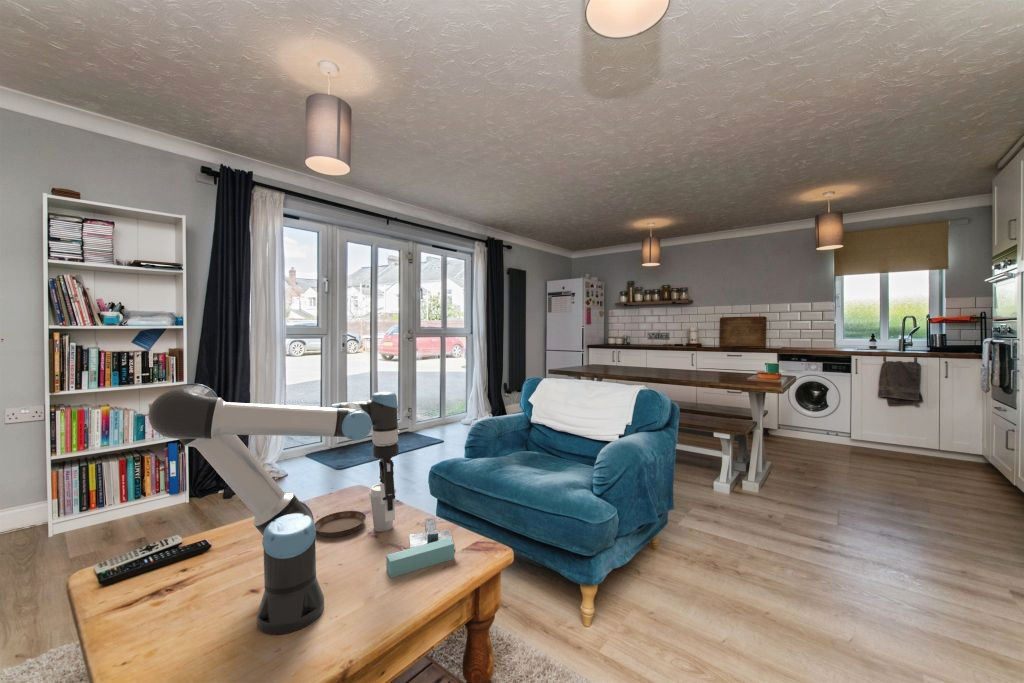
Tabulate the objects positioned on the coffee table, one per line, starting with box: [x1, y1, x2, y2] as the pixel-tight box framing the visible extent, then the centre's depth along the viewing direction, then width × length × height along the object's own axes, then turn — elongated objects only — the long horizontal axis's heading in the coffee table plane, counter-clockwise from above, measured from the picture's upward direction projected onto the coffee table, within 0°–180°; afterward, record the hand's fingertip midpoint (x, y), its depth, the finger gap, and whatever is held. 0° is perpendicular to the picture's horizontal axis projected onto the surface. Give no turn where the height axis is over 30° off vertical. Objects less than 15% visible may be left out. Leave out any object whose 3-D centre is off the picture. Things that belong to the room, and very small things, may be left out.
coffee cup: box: [368, 483, 397, 533], centre depth 158 cm, size 10×10×15 cm
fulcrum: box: [409, 517, 456, 552], centre depth 145 cm, size 14×14×6 cm
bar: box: [385, 538, 456, 579], centre depth 133 cm, size 4×20×5 cm, turn 121°
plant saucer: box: [314, 510, 367, 538], centre depth 158 cm, size 18×18×3 cm
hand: (387, 511), depth 133 cm, fingers open, 13 cm apart
